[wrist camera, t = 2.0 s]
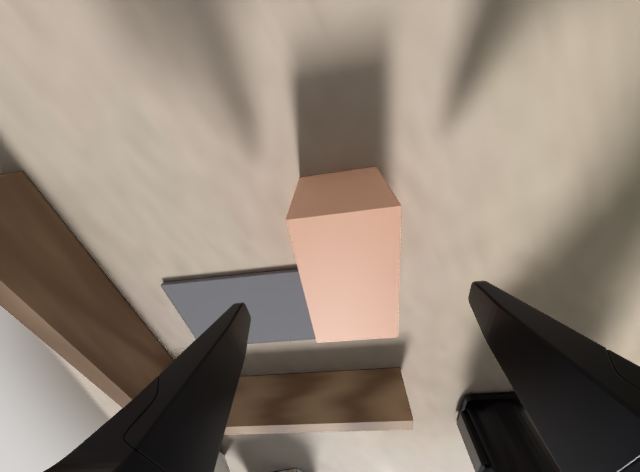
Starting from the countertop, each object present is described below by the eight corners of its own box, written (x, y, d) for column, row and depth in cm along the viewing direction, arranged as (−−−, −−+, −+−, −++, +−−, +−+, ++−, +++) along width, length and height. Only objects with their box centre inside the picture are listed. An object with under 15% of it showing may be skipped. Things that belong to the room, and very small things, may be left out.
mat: (302, 268, 16) (302, 271, 15) (318, 335, 19) (318, 338, 19) (163, 282, 17) (160, 285, 16) (203, 344, 20) (201, 347, 20)
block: (375, 165, 12) (401, 205, 8) (379, 271, 16) (398, 337, 12) (299, 176, 13) (285, 220, 8) (319, 276, 16) (316, 342, 12)
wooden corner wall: (408, 106, 11) (446, 113, 7) (399, 376, 22) (412, 429, 19) (-2, 174, 13) (-120, 204, 10) (181, 388, 24) (157, 436, 21)
